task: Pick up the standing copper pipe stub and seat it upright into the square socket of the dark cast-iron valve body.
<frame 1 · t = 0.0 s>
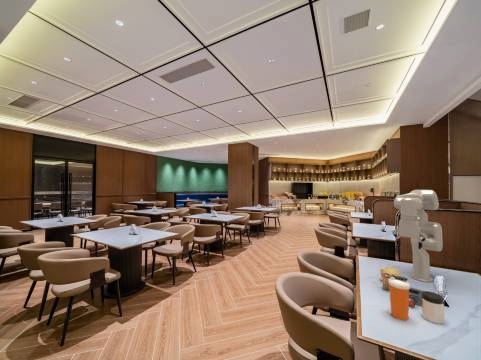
hand: (409, 247, 126), 31 cm above the table, fingers open, 9 cm apart
jar: (432, 319, 106), on the table
valve body: (413, 299, 124), on the table
pipe stub: (386, 289, 136), on the table
shaker bottle: (399, 316, 108), on the table
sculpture: (391, 283, 146), on the table
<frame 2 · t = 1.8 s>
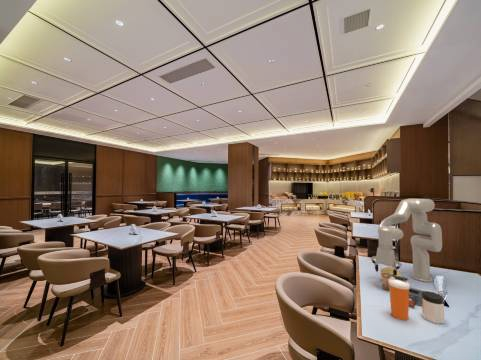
hand: (385, 273, 137), 11 cm above the table, fingers open, 9 cm apart
nothing on the table moved.
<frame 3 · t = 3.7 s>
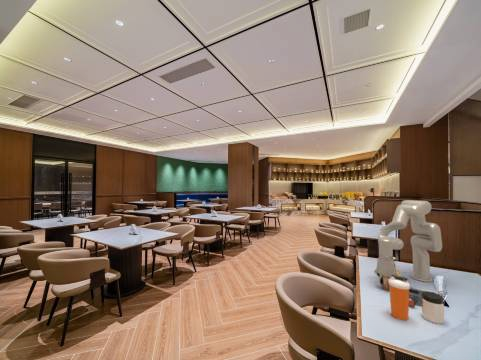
hand: (386, 285, 137), 3 cm above the table, fingers closed on pipe stub, 4 cm apart
pipe stub: (386, 289, 136), on the table, touching gripper
everything else where it was.
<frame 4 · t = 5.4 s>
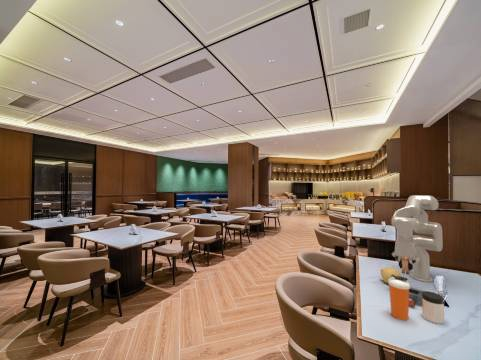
hand: (405, 268, 128), 17 cm above the table, fingers closed on pipe stub, 4 cm apart
pipe stub: (405, 273, 128), point 14 cm above the table, touching gripper
everything else where it was.
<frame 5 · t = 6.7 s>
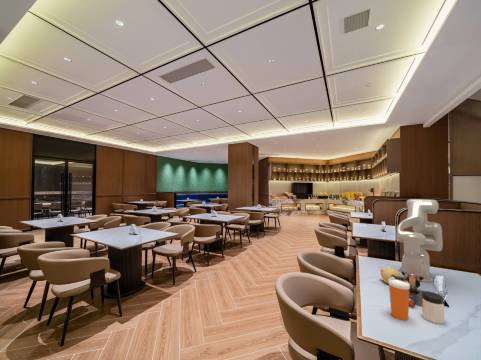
hand: (412, 285, 125), 8 cm above the table, fingers closed on pipe stub, 4 cm apart
pipe stub: (412, 290, 124), point 6 cm above the table, touching gripper
everything else where it was.
when the fingers open (6 cm above the table, at t = 7.6 s): pipe stub drops 3 cm, resting in valve body.
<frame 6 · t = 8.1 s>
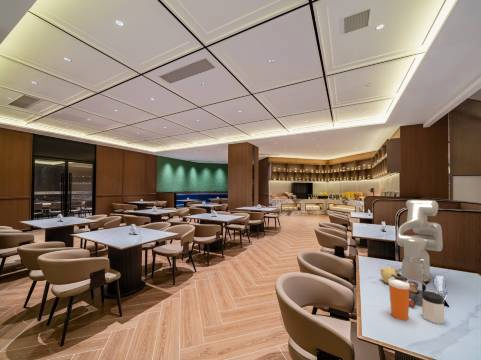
hand: (412, 288, 124), 7 cm above the table, fingers open, 9 cm apart
pipe stub: (413, 299, 124), resting in valve body
everything else where it was.
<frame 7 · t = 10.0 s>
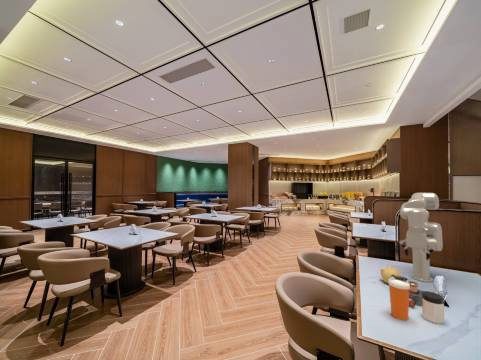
hand: (417, 257, 128), 24 cm above the table, fingers open, 9 cm apart
nothing on the table moved.
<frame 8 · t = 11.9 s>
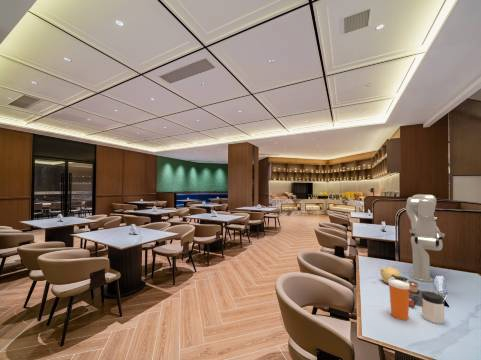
hand: (426, 245, 134), 30 cm above the table, fingers open, 9 cm apart
nothing on the table moved.
at the end: pipe stub 0.1 cm off-centre on the valve body, point 0.0 cm above the valve body's base; pipe stub tilted 0°; the gripper is holding nothing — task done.
